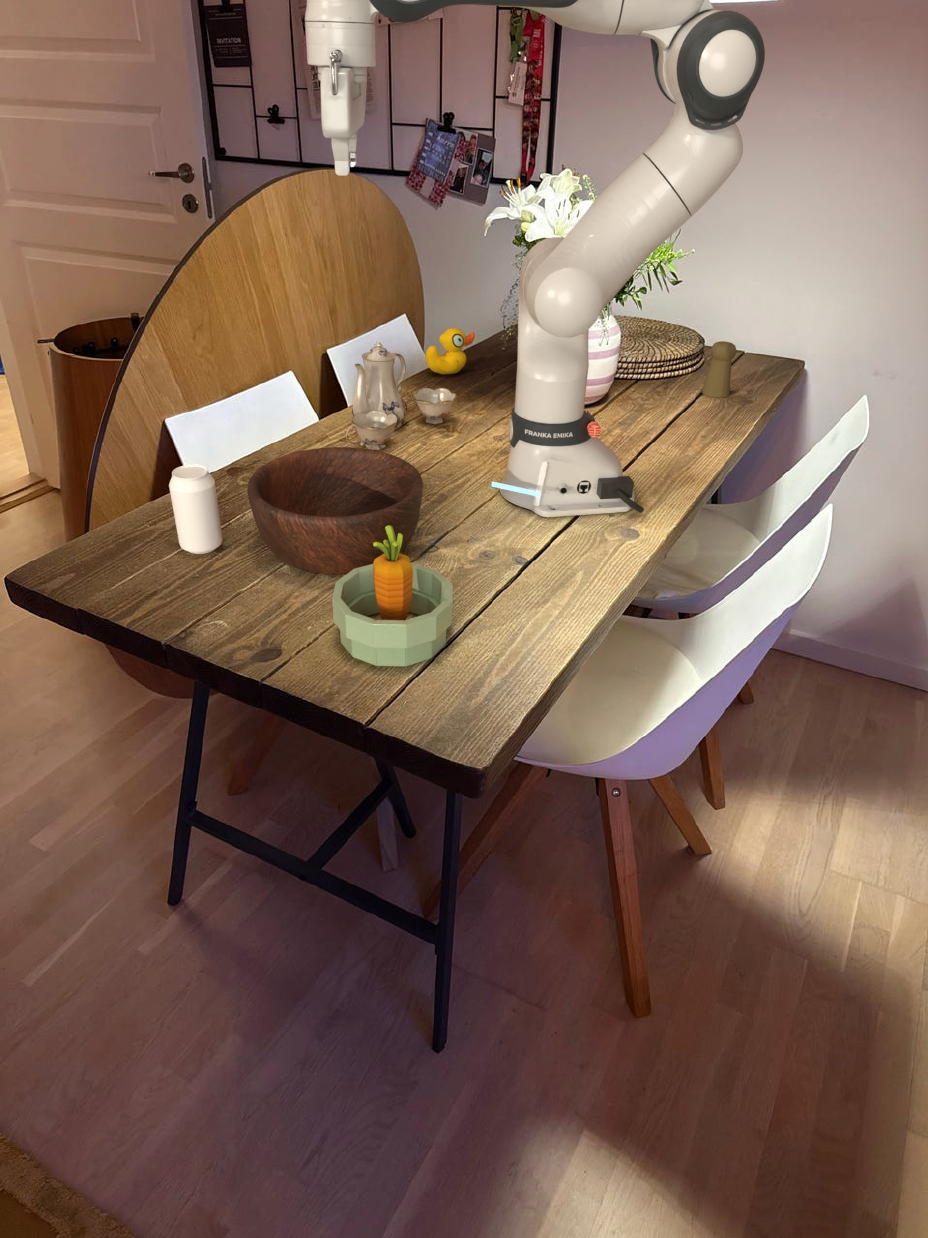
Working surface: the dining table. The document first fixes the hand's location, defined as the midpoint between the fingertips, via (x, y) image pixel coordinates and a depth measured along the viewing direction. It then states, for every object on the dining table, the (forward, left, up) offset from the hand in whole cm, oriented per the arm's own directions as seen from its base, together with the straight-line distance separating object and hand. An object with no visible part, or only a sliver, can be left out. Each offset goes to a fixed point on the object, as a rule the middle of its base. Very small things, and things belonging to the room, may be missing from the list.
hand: (346, 170), depth 119 cm
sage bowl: (-8, +43, -48) cm, 65 cm away
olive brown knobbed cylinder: (-74, -53, -48) cm, 103 cm away
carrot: (-8, +43, -48) cm, 65 cm away
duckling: (-15, -62, -48) cm, 80 cm away
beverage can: (+21, +21, -48) cm, 57 cm away
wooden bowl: (+1, +19, -48) cm, 52 cm away
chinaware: (-4, -27, -48) cm, 56 cm away
